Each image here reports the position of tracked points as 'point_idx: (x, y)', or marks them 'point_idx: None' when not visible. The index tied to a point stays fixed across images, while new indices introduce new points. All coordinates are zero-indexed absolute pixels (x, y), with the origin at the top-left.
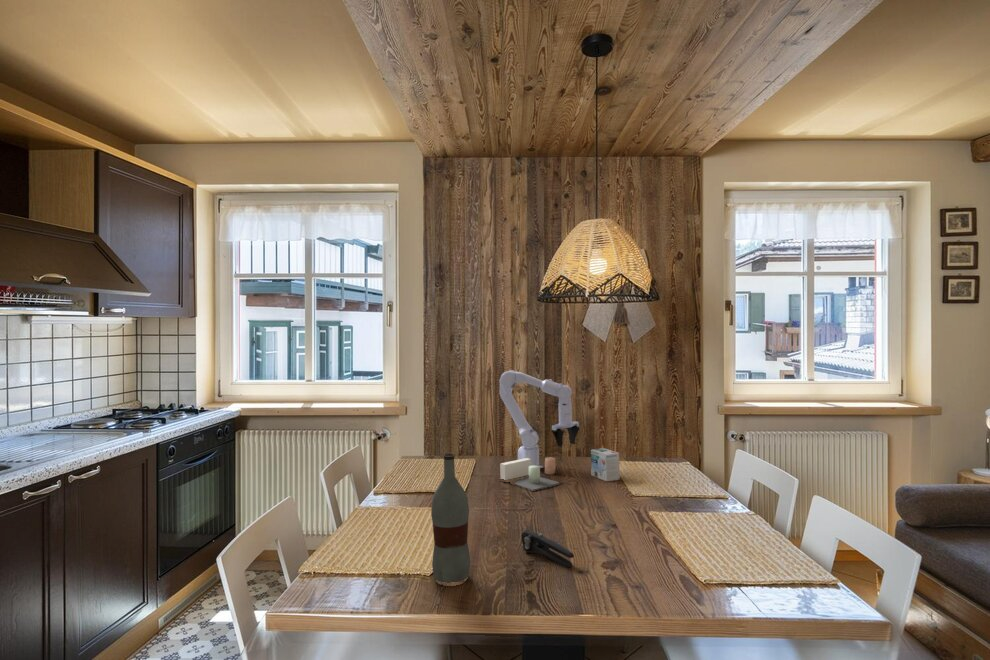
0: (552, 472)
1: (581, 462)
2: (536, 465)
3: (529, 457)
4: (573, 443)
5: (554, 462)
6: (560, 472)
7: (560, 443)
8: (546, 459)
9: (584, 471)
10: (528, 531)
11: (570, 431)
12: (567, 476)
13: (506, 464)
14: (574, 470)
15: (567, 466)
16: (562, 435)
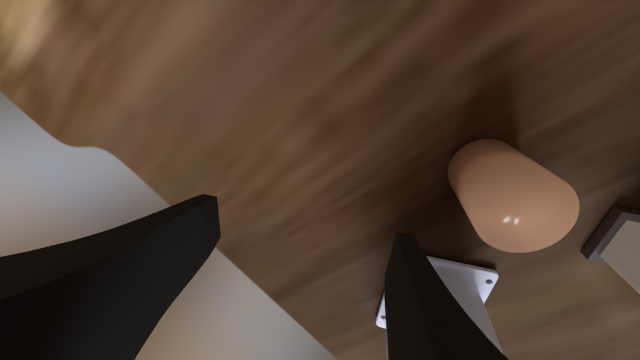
0: (507, 144)
1: (182, 160)
2: (448, 275)
3: (497, 341)
4: (212, 198)
5: (520, 163)
6: (432, 127)
7: (427, 263)
8: (574, 223)
9: (312, 15)
10: None
11: (106, 353)
12: (508, 20)
13: None
14: (335, 87)
15: (292, 172)
16: (445, 356)
